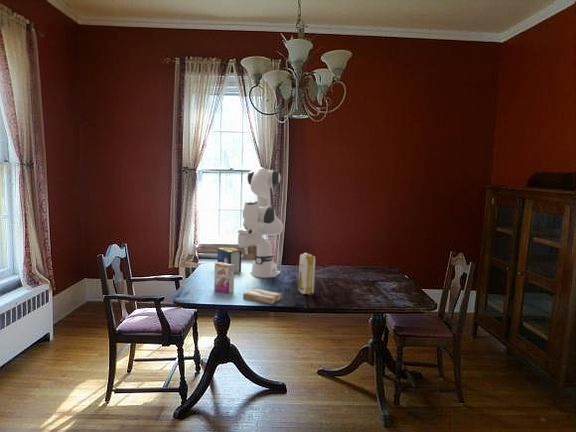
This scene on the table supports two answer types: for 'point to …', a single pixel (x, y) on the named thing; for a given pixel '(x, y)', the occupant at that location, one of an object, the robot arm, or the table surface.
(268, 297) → the plinth
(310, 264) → the juice carton
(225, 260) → the protein box
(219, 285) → the candy bar box
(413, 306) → the table surface
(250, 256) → the walnut block
